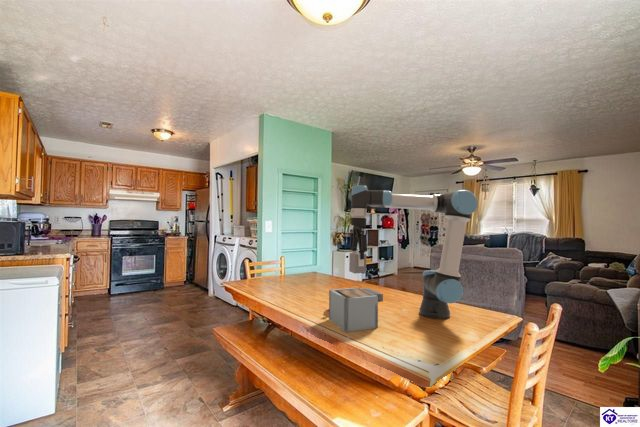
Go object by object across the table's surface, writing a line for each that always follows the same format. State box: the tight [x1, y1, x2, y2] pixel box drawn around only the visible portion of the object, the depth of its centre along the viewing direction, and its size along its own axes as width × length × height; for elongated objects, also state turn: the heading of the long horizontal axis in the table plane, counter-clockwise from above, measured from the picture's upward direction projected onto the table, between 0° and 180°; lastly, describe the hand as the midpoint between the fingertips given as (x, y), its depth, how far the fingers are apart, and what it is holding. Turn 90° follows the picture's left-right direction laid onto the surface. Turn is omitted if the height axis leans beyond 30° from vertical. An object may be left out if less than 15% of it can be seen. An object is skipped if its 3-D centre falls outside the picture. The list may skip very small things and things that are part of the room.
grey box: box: [328, 287, 379, 333], centre depth 143 cm, size 16×18×14 cm
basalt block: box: [348, 252, 367, 274], centre depth 145 cm, size 6×6×9 cm
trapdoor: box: [338, 287, 384, 303], centre depth 144 cm, size 18×14×4 cm
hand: (357, 265), depth 145 cm, fingers closed on basalt block, 6 cm apart
